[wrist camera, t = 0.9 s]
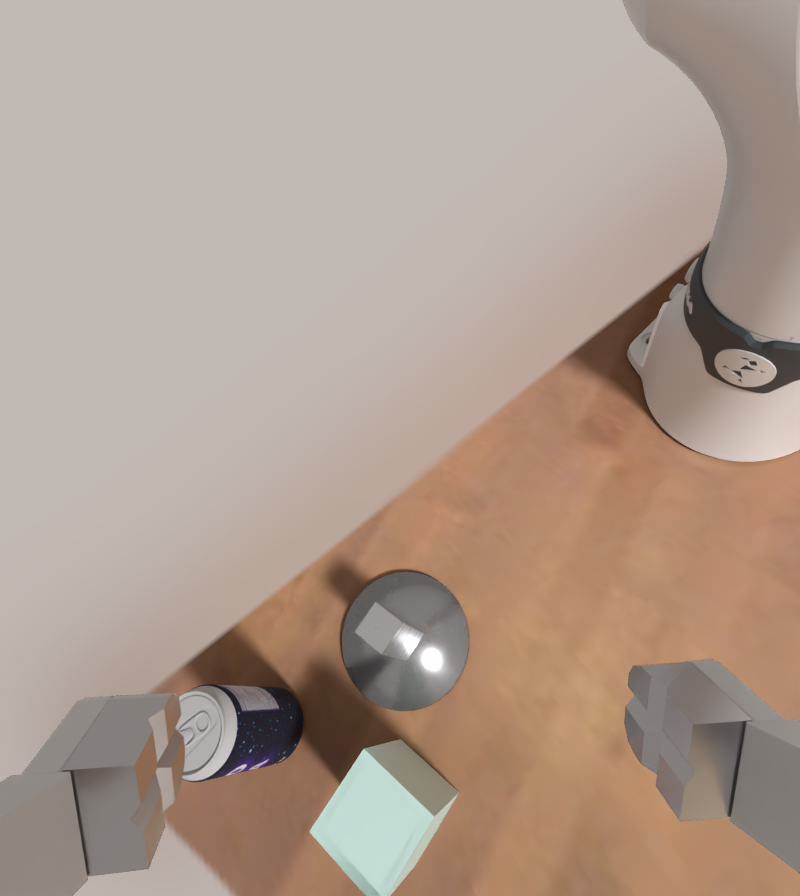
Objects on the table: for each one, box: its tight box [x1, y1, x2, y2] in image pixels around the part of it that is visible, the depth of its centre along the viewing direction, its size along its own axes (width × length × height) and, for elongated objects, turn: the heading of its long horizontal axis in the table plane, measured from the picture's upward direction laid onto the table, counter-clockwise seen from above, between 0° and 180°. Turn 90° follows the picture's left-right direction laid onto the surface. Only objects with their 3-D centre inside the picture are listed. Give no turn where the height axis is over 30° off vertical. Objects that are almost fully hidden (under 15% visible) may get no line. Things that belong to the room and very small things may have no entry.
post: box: [342, 572, 469, 711], centre depth 40 cm, size 11×11×8 cm
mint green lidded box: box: [310, 739, 459, 896], centre depth 35 cm, size 6×6×9 cm
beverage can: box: [176, 685, 303, 782], centre depth 38 cm, size 6×6×12 cm
